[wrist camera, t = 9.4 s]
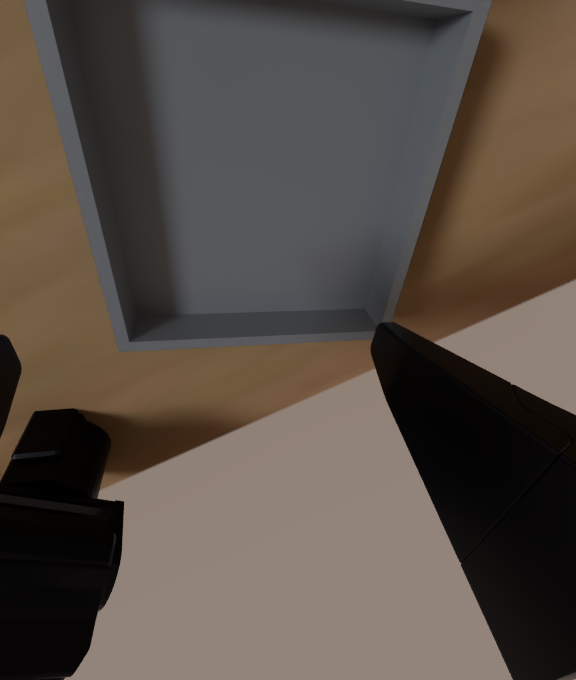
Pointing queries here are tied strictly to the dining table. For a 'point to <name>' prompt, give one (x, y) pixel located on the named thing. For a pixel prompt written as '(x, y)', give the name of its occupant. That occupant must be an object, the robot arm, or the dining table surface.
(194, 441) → the dining table surface
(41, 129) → the dining table surface
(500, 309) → the dining table surface
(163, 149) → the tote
